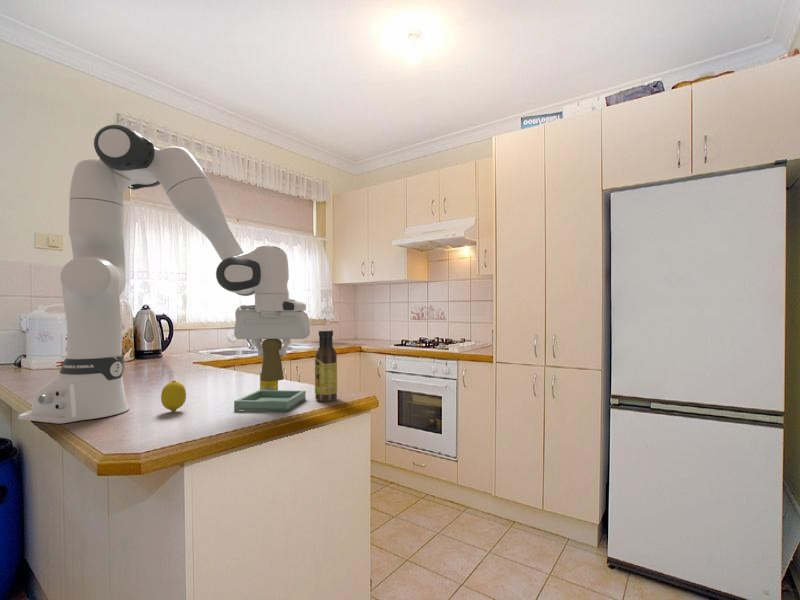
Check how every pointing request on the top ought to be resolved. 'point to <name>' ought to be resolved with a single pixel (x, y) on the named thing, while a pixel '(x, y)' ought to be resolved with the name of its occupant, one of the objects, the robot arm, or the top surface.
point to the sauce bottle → (325, 368)
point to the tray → (270, 400)
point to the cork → (271, 361)
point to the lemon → (173, 396)
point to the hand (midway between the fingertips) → (272, 355)
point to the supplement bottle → (268, 384)
